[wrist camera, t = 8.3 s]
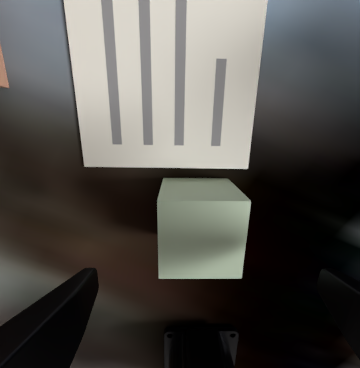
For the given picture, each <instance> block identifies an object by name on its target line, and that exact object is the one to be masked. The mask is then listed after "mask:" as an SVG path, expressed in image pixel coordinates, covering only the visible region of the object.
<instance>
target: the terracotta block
mask: <svg viewBox="0 0 360 368" xmlns="http://www.w3.org/2000/svg"><path fill="white" fill-rule="evenodd" d="M0 88H9V84H8V79H7V74H6V69H5V64H4V60H3V55H2V50H1V45H0Z"/></svg>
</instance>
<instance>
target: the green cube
mask: <svg viewBox="0 0 360 368" xmlns="http://www.w3.org/2000/svg"><path fill="white" fill-rule="evenodd" d="M250 206H251V201H250V200H249V199H248V198H247V197H246V196H245V195H244V194H243V193H242V192H241V191H240V190H239V189H238V188H237V187H236V186H235V185H234V184H233V183H232V182H231V181H230V180H229V179H228V178H163V181H162V185H161V188H160V192H159V195H158V199H157V220H158V267H159V279H242V271H243V263H244V255H245V247H246V239H247V230H248V222H249V214H250Z"/></svg>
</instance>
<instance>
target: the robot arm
mask: <svg viewBox="0 0 360 368" xmlns="http://www.w3.org/2000/svg"><path fill="white" fill-rule="evenodd" d="M98 288H99V284H98V276H97V270H96V268H84V269H83V270H81V271H80V272H78V273H77V274H75V275H74V276H73V277H71V278H70V279H68V280H67V281H65V282H64V283H62V284H61V285H60V286H58V287H57V288H55V289H54V290H52V291H51V292H49V293H48V294H46V295H45V296H44V297H42V298H41V299H39V300H38V301H36V302H35V303H33V304H32V305H31V306H29V307H28V308H26V309H25V310H23V311H22V312H20V313H19V314H17V315H16V316H15V317H13V318H12V319H10V320H9V321H7V322H6V323H4V324H3V325H2V326H0V368H70V365H71V363H72V361H73V358H74V356H75V354H76V351H77V349H78V347H79V345H80V342H81V340H82V337H83V335H84V332H85V329H86V326H87V323H88V320H89V317H90V314H91V311H92V308H93V305H94V302H95V299H96V295H97V292H98ZM317 290H318V292H319V294H320V296H321V298H322V299H323V301H324V303H325V305H326V306H327V308H328V310H329V312H330V313H331V315H332V317H333V319H334V320H335V322H336V324H337V326H338V327H339V329H340V331H341V332H342V334H343V336H344V337H345V339H346V340H347V342H348V343H349V345H350V346H351V348H352V349H353V351H354V352H355V354H356V355H357V356H358V358H359V359H360V281H358V280H356V279H354V278H352V277H350V276H347V275H345V274H343V273H341V272H339V271H337V270H335V269H331V268H324V269H321V271H320V274H319V277H318V281H317ZM238 336H239V335H238V331H237V329H236V328H235V327H167V328H166V329H165V331H164V368H234V365H235V357H236V350H237V343H238Z"/></svg>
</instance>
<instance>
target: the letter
mask: <svg viewBox="0 0 360 368" xmlns="http://www.w3.org/2000/svg"><path fill="white" fill-rule="evenodd" d="M267 2H268V0H64V8H65V16H66V24H67V32H68V40H69V48H70V56H71V64H72V72H73V80H74V88H75V96H76V104H77V112H78V120H79V128H80V136H81V144H82V152H83V160H84V167H139V168H216V169H248V163H249V155H250V146H251V138H252V129H253V121H254V112H255V104H256V95H257V87H258V78H259V70H260V61H261V53H262V44H263V36H264V27H265V19H266V10H267Z"/></svg>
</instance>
